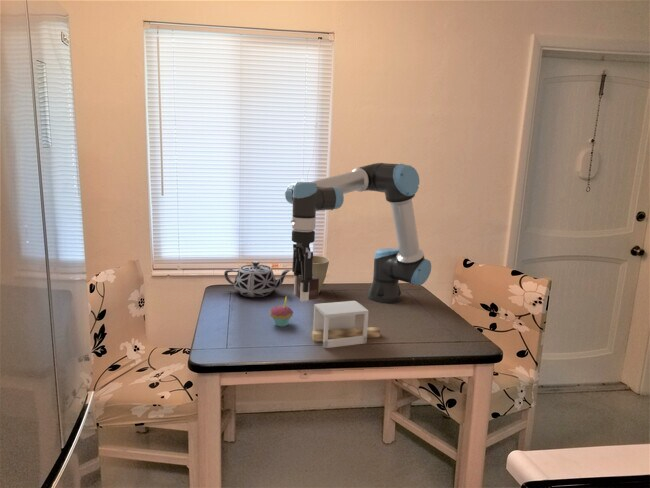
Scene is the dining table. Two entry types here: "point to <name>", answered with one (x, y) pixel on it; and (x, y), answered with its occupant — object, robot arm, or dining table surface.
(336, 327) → the tunnel
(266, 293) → the teapot
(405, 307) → the dining table surface
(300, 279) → the box
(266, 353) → the dining table surface
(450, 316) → the dining table surface
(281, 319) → the cupcake
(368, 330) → the rod
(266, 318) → the dining table surface
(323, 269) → the plant pot
